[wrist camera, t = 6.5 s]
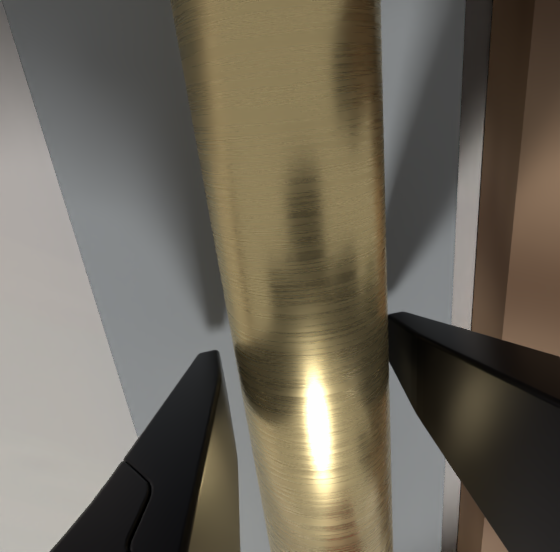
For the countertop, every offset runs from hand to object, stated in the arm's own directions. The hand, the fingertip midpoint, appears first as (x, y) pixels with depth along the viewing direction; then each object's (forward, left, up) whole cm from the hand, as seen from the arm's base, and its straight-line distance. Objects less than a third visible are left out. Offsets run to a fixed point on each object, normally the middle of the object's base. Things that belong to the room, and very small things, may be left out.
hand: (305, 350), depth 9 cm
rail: (0, 0, -1) cm, 1 cm away
